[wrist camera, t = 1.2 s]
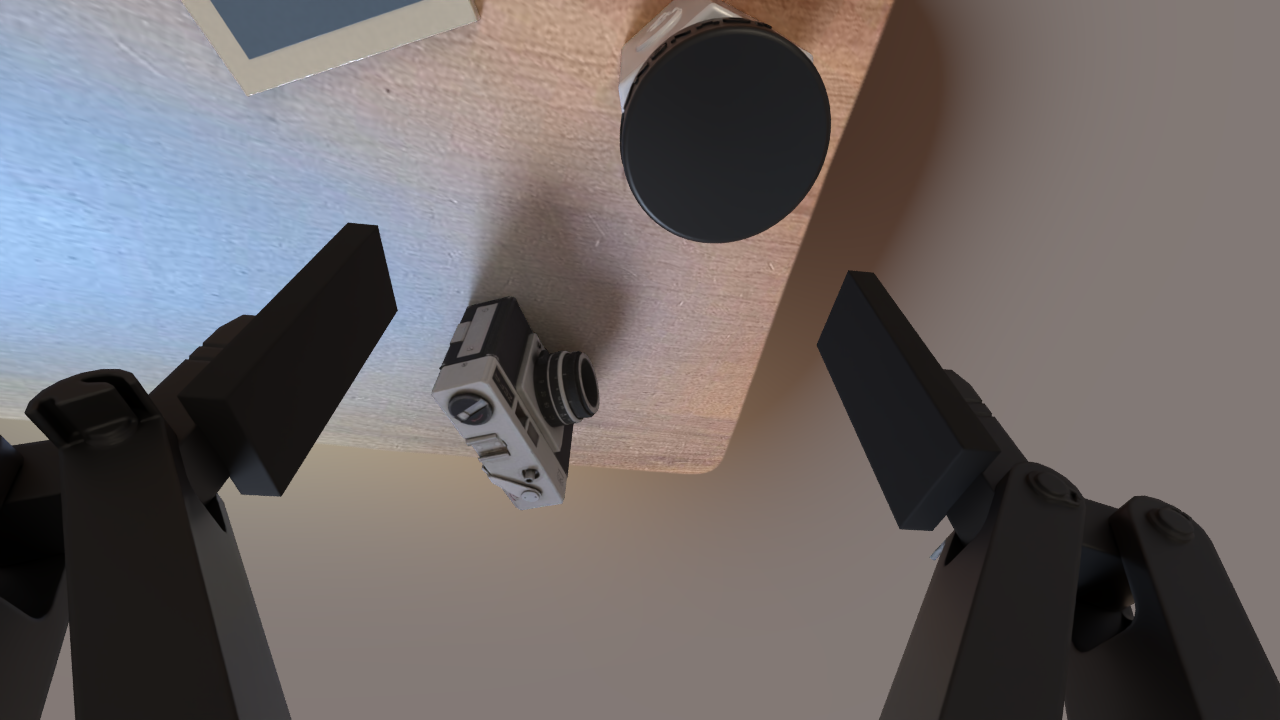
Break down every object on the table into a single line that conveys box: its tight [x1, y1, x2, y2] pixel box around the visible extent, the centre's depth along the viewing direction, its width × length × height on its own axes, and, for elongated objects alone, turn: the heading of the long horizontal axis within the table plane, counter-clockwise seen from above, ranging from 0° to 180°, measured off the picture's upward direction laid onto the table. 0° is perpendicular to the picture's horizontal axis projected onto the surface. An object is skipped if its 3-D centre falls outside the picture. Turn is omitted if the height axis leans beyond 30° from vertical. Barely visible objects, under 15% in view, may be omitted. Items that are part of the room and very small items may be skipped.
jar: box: [619, 0, 831, 243], centre depth 24 cm, size 9×8×12 cm
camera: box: [432, 297, 599, 510], centre depth 38 cm, size 14×9×10 cm, turn 8°
